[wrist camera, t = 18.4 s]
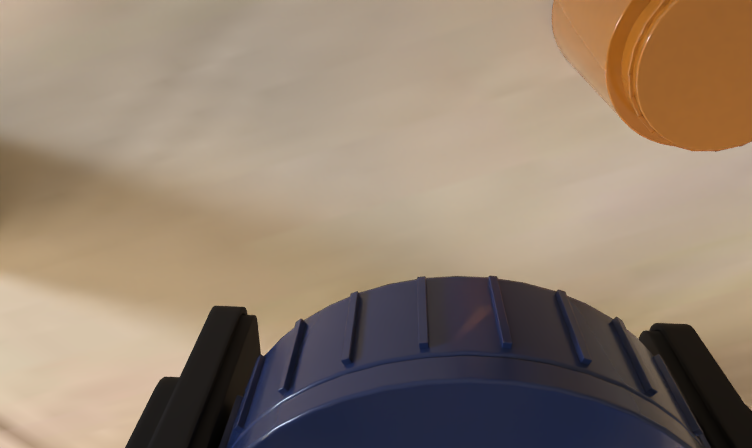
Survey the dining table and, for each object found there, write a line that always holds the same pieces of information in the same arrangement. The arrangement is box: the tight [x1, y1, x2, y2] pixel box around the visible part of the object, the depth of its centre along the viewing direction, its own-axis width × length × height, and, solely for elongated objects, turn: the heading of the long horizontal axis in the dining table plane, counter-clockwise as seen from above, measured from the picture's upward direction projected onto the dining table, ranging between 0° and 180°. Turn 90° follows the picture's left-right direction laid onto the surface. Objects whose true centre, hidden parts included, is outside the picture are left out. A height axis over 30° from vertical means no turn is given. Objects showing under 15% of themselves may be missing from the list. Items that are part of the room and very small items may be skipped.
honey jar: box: [552, 0, 752, 152], centre depth 23 cm, size 7×7×11 cm
